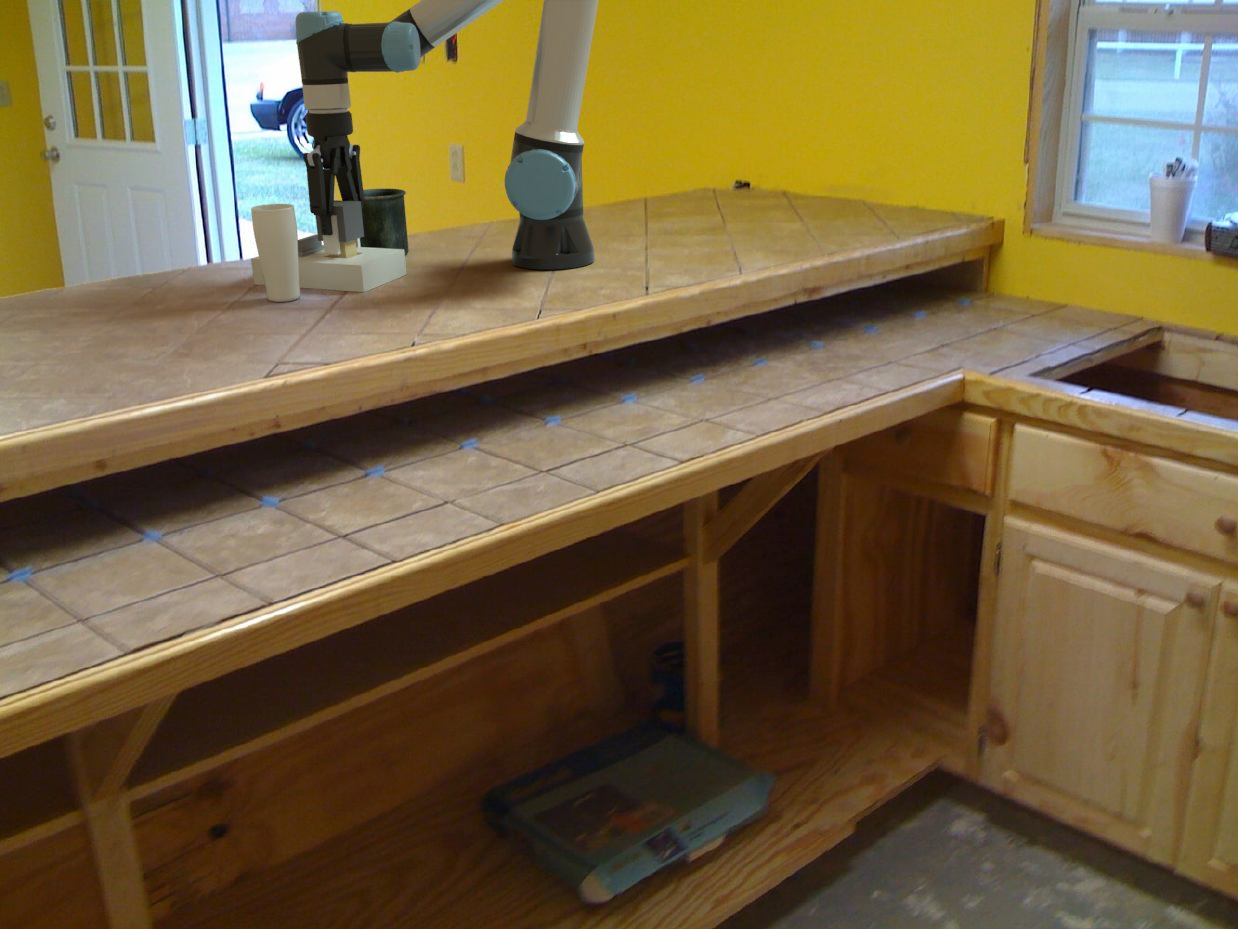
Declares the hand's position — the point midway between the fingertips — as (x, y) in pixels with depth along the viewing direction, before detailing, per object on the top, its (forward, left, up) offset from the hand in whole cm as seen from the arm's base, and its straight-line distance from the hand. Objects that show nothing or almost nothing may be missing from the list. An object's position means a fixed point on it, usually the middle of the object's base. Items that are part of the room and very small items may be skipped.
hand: (342, 249), depth 205 cm
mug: (+6, -19, -6) cm, 21 cm away
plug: (0, 0, -2) cm, 2 cm away
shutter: (+9, 0, -1) cm, 9 cm away
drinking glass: (+2, +15, -6) cm, 16 cm away
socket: (+3, 0, -5) cm, 6 cm away
